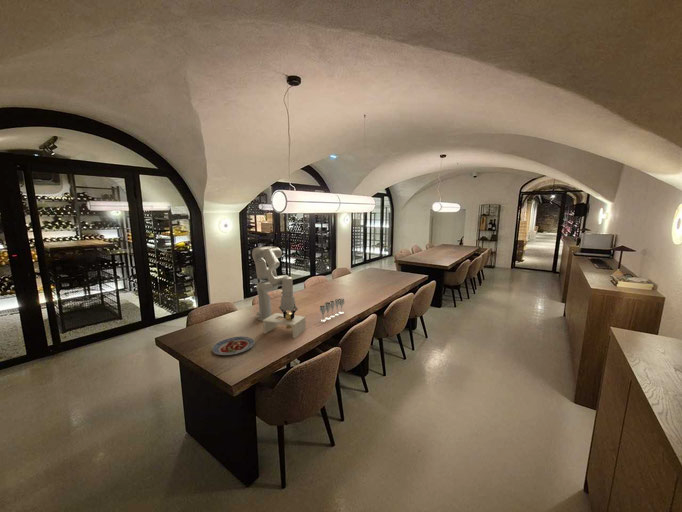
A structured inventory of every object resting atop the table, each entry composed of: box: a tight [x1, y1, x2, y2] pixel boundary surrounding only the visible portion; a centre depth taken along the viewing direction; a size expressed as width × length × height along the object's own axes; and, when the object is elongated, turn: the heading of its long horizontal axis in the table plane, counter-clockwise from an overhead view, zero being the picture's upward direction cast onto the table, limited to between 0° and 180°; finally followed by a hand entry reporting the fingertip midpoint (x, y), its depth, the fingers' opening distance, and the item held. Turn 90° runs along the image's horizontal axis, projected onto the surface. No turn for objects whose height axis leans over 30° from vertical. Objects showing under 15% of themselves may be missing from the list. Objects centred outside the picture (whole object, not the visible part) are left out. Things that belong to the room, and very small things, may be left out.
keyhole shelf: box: [262, 312, 307, 339], centre depth 209 cm, size 26×16×10 cm, turn 69°
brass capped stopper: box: [285, 312, 292, 330], centre depth 207 cm, size 5×5×10 cm
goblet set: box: [319, 298, 345, 322], centre depth 237 cm, size 28×6×13 cm, turn 139°
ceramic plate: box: [211, 335, 255, 356], centre depth 186 cm, size 26×26×3 cm
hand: (288, 317), depth 207 cm, fingers open, 5 cm apart
